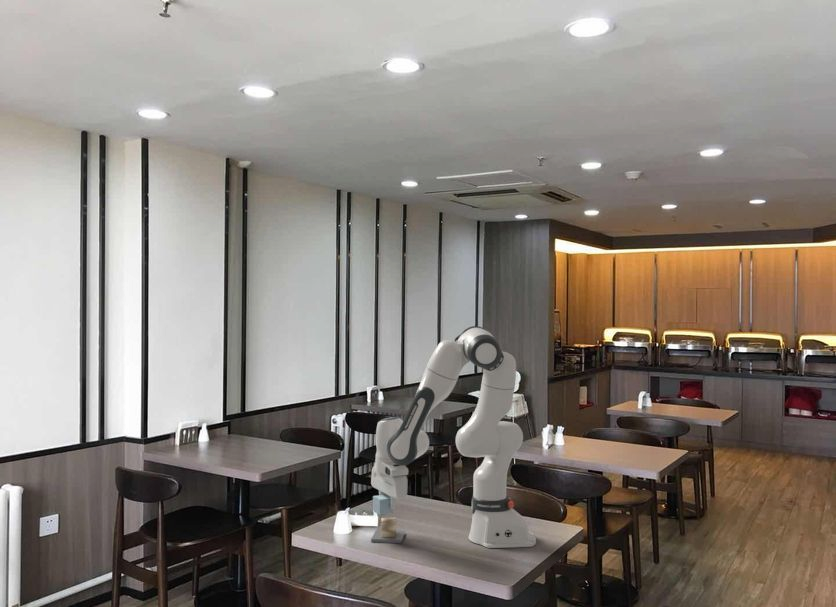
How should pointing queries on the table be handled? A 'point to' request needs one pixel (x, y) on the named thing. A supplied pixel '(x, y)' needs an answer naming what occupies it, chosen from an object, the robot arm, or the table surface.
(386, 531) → the birch cube
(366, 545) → the table surface
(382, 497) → the bluegrey cube
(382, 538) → the slate coaster
